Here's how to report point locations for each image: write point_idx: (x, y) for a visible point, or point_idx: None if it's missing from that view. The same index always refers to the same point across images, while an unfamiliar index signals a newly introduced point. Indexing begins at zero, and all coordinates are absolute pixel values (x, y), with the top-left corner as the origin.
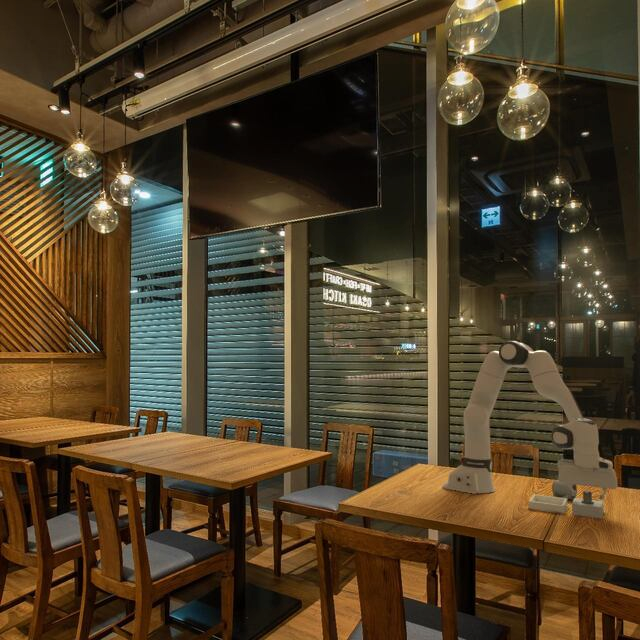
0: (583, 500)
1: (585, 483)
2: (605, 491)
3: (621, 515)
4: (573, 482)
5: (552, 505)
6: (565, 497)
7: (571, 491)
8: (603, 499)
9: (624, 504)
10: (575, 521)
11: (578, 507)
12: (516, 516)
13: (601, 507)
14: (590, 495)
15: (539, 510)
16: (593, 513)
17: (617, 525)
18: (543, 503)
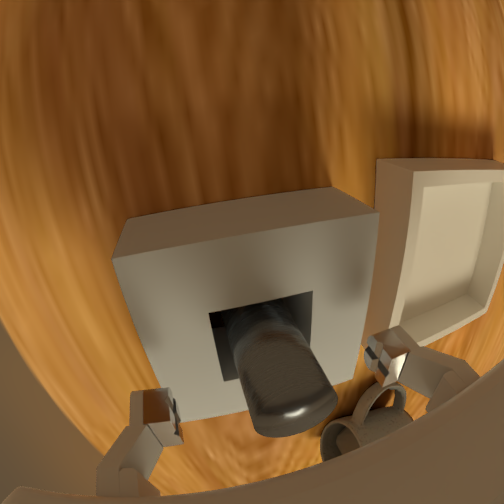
0: (301, 333)
1: (361, 477)
2: (107, 463)
3: (81, 368)
4: (474, 405)
5: (457, 168)
6: (366, 404)
7: (344, 451)
8: (133, 392)
9: (157, 476)
10: (286, 9)
11: (318, 209)
12: (497, 16)
13: (115, 261)
14: (255, 386)
15: (468, 159)
16: (188, 219)
17: (10, 121)
18: (489, 168)
